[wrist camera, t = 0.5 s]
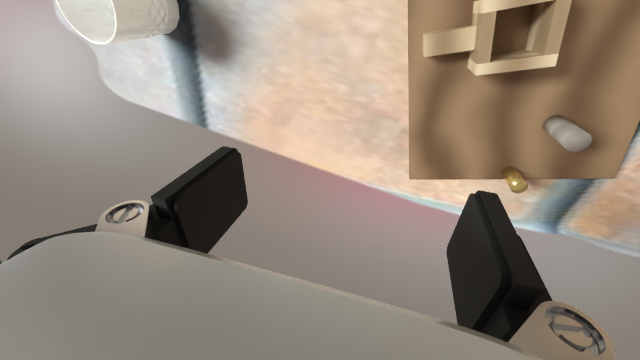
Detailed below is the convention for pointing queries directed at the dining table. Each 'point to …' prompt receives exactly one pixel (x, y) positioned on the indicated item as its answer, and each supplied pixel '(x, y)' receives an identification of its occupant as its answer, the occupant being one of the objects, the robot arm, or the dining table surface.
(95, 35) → the white cup
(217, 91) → the dining table surface
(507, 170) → the dowel pin
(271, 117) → the dining table surface
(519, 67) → the square frame with tab
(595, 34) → the board
